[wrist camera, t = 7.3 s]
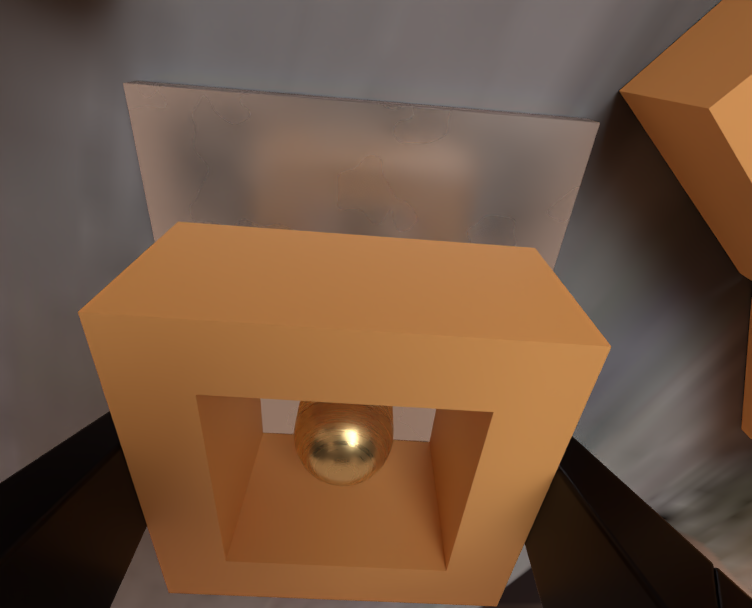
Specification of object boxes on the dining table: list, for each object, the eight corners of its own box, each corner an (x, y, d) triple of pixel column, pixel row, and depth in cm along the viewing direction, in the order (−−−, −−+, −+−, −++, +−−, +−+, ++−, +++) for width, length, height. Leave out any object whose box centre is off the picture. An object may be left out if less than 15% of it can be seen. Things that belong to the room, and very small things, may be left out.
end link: (534, 247, 8) (611, 346, 5) (469, 476, 11) (497, 606, 9) (177, 221, 8) (78, 311, 5) (217, 463, 11) (168, 593, 8)
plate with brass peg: (588, 118, 10) (814, 198, 5) (493, 430, 15) (553, 629, 10) (136, 80, 9) (-140, 124, 4) (198, 415, 15) (103, 613, 10)
